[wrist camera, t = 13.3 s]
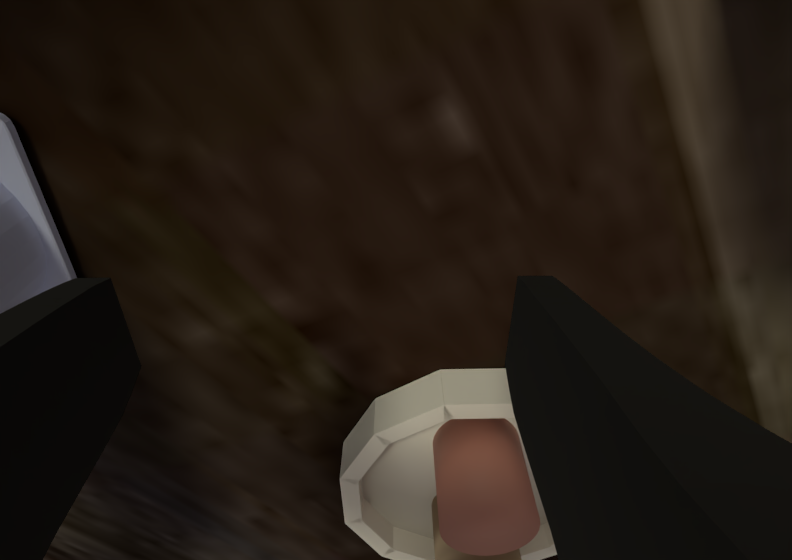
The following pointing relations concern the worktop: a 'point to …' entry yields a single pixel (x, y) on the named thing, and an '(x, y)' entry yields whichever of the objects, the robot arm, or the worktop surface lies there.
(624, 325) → the worktop surface
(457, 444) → the brownish pink rounded piece
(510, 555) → the bead
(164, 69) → the worktop surface
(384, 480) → the dish
